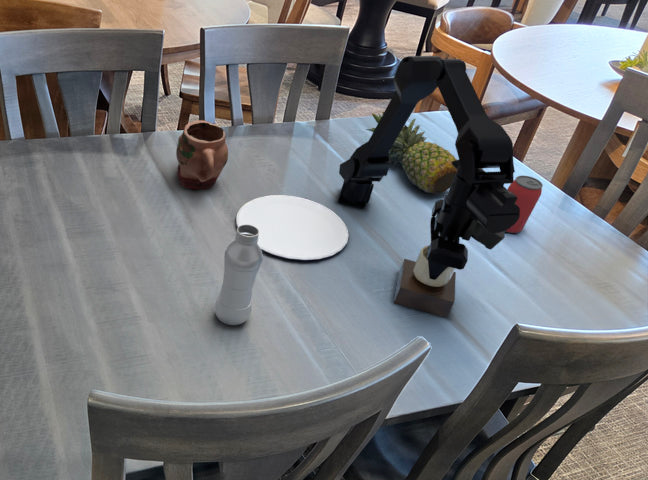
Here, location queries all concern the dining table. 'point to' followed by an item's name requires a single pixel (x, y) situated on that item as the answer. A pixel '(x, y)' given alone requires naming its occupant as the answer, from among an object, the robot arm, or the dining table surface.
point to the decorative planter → (201, 154)
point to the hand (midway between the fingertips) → (433, 268)
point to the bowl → (423, 271)
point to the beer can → (524, 199)
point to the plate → (294, 227)
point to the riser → (423, 292)
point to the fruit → (422, 159)
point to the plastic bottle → (239, 276)
